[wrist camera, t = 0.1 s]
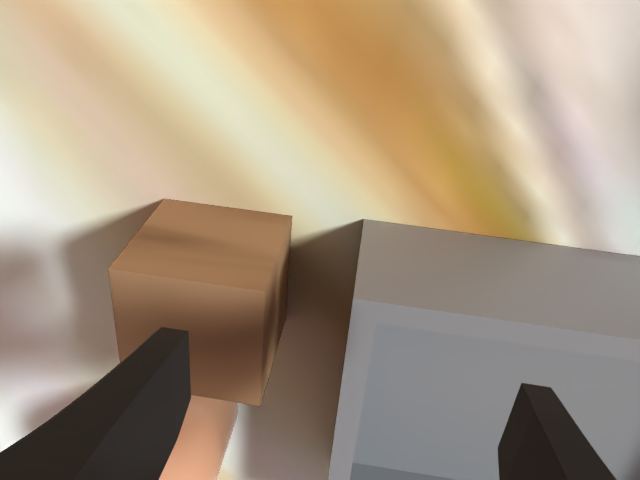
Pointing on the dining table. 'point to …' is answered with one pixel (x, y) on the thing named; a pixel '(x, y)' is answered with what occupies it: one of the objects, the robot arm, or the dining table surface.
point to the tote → (482, 351)
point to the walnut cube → (207, 292)
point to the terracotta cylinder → (201, 440)
